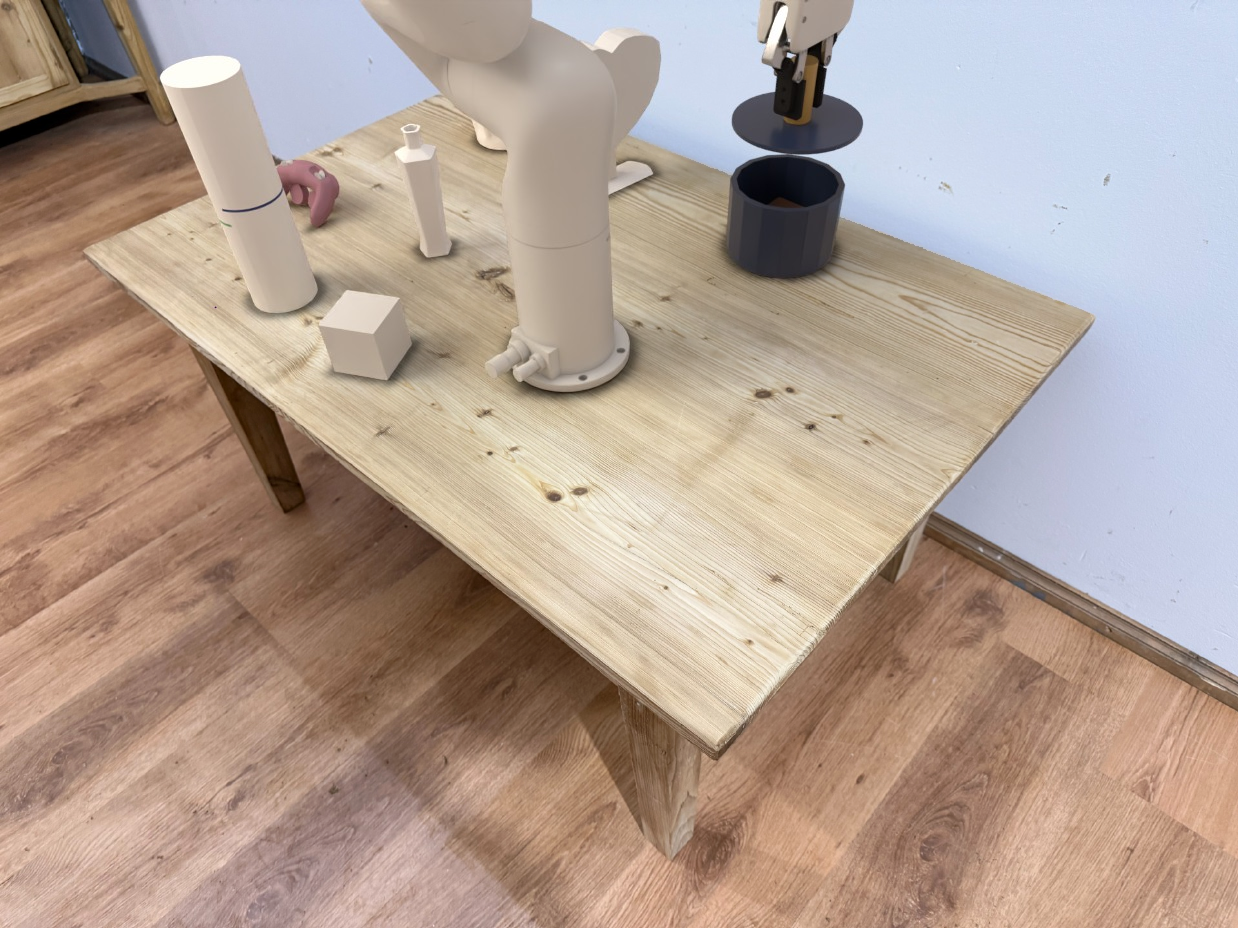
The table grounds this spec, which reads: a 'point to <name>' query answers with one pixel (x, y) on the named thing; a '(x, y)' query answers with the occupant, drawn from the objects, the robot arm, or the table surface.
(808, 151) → the lid
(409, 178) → the perfume bottle
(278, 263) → the cylindrical container
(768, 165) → the tin
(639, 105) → the heart sculpture
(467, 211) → the table surface
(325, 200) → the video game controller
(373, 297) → the white cube
